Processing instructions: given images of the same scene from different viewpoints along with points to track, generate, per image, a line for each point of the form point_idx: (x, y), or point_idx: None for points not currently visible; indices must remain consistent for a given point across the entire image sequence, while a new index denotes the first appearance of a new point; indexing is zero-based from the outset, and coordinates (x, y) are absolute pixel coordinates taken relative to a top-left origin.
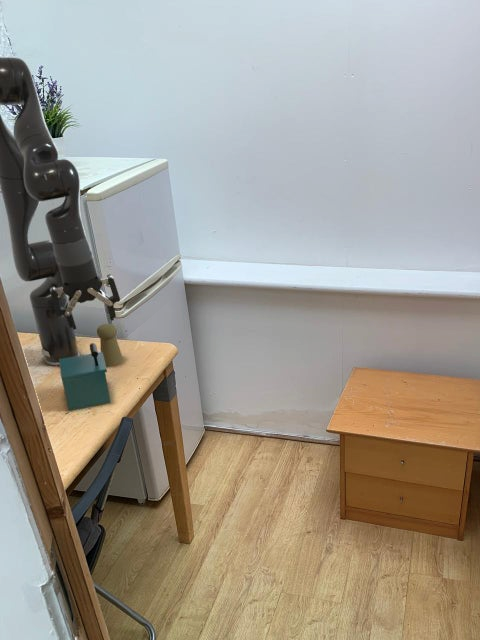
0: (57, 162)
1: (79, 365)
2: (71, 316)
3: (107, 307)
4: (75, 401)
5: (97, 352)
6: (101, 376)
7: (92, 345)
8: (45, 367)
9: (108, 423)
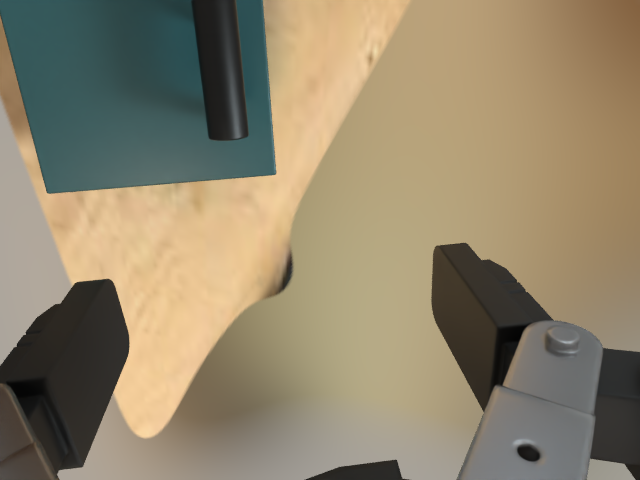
0: None
1: (131, 86)
2: (73, 459)
3: (484, 402)
4: None
5: (246, 136)
6: None
7: (215, 42)
8: None
9: (245, 269)
